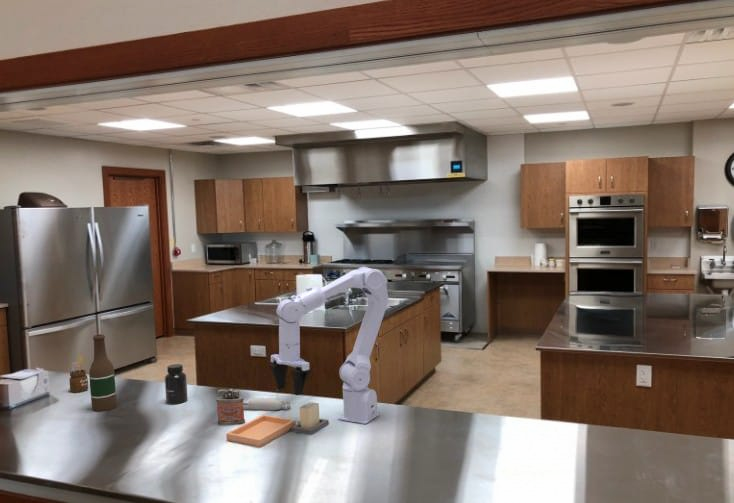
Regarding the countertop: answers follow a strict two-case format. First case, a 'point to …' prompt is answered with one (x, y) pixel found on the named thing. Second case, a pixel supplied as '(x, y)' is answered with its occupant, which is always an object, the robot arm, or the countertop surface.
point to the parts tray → (260, 430)
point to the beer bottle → (102, 378)
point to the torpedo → (265, 404)
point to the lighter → (230, 408)
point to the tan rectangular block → (309, 415)
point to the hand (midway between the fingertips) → (289, 391)
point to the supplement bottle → (175, 384)
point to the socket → (311, 431)
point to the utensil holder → (78, 379)
